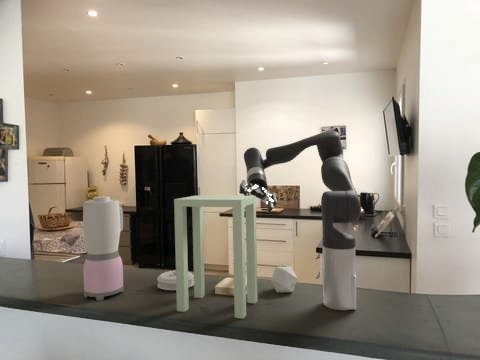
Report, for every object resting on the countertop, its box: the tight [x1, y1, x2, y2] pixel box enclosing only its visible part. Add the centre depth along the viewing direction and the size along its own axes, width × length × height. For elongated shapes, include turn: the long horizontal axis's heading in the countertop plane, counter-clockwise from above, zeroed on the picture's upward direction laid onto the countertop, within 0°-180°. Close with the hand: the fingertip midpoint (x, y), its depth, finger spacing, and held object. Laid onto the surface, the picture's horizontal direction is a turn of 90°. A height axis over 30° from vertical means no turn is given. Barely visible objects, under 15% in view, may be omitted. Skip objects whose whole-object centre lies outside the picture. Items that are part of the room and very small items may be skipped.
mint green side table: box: [173, 195, 258, 319], centre depth 108 cm, size 20×14×32 cm
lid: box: [156, 270, 194, 291], centre depth 127 cm, size 13×13×5 cm
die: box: [270, 266, 298, 294], centre depth 120 cm, size 8×9×10 cm
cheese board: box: [214, 269, 247, 297], centre depth 127 cm, size 10×20×2 cm, turn 161°
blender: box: [82, 196, 124, 301], centre depth 122 cm, size 16×12×32 cm
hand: (259, 205), depth 126 cm, fingers open, 8 cm apart
